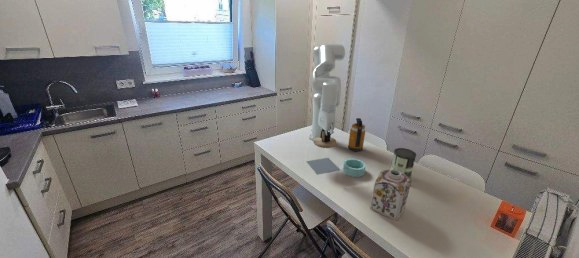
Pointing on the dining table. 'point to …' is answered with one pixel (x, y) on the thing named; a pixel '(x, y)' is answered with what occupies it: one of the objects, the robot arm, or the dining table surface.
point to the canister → (357, 136)
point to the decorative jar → (390, 193)
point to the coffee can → (403, 161)
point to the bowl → (354, 167)
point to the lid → (322, 144)
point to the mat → (322, 166)
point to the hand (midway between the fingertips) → (325, 139)
